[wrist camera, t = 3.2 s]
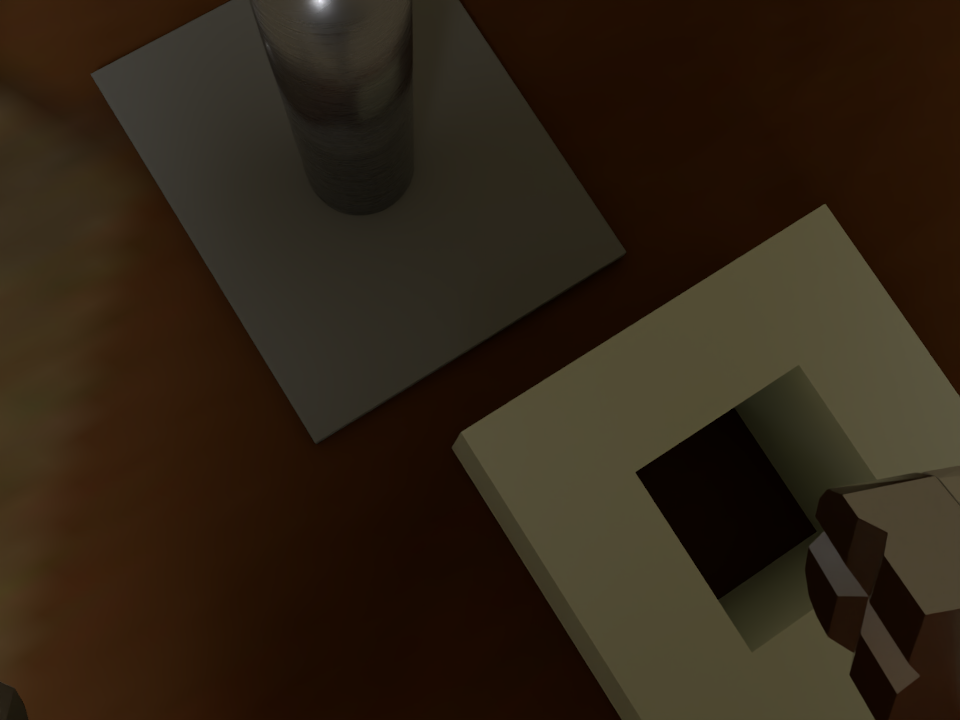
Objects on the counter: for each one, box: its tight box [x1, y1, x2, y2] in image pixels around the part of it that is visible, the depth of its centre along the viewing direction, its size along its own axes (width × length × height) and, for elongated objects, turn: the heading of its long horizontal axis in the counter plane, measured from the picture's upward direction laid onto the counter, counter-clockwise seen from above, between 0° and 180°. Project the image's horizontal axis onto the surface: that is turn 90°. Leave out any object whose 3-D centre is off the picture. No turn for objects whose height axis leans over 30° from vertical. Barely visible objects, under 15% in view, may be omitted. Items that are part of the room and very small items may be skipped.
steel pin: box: [249, 0, 414, 215], centre depth 20 cm, size 3×3×10 cm
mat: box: [91, 0, 626, 444], centre depth 26 cm, size 12×10×1 cm
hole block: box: [452, 204, 960, 720], centre depth 22 cm, size 10×10×5 cm
